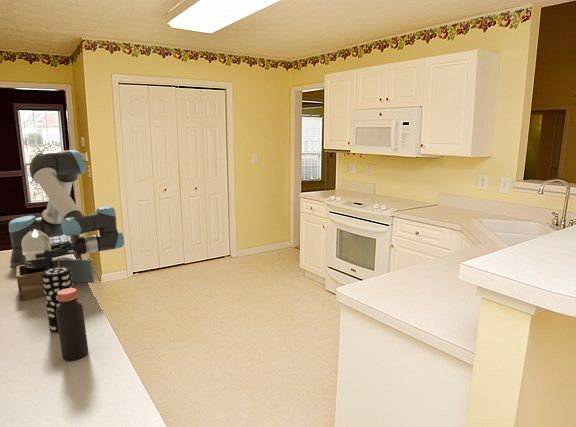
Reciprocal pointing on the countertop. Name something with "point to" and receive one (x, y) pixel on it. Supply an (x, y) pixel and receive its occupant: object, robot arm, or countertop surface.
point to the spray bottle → (36, 243)
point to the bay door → (79, 269)
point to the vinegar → (71, 325)
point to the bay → (30, 283)
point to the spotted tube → (55, 291)
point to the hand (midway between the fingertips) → (25, 254)
